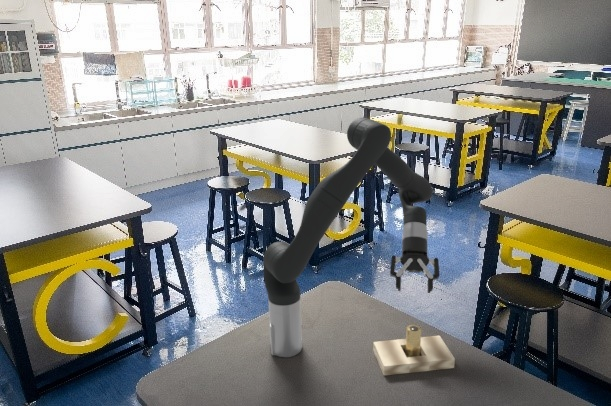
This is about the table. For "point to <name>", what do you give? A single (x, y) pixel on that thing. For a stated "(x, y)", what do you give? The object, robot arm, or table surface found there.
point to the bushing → (413, 341)
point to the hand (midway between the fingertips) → (414, 291)
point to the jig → (397, 362)
